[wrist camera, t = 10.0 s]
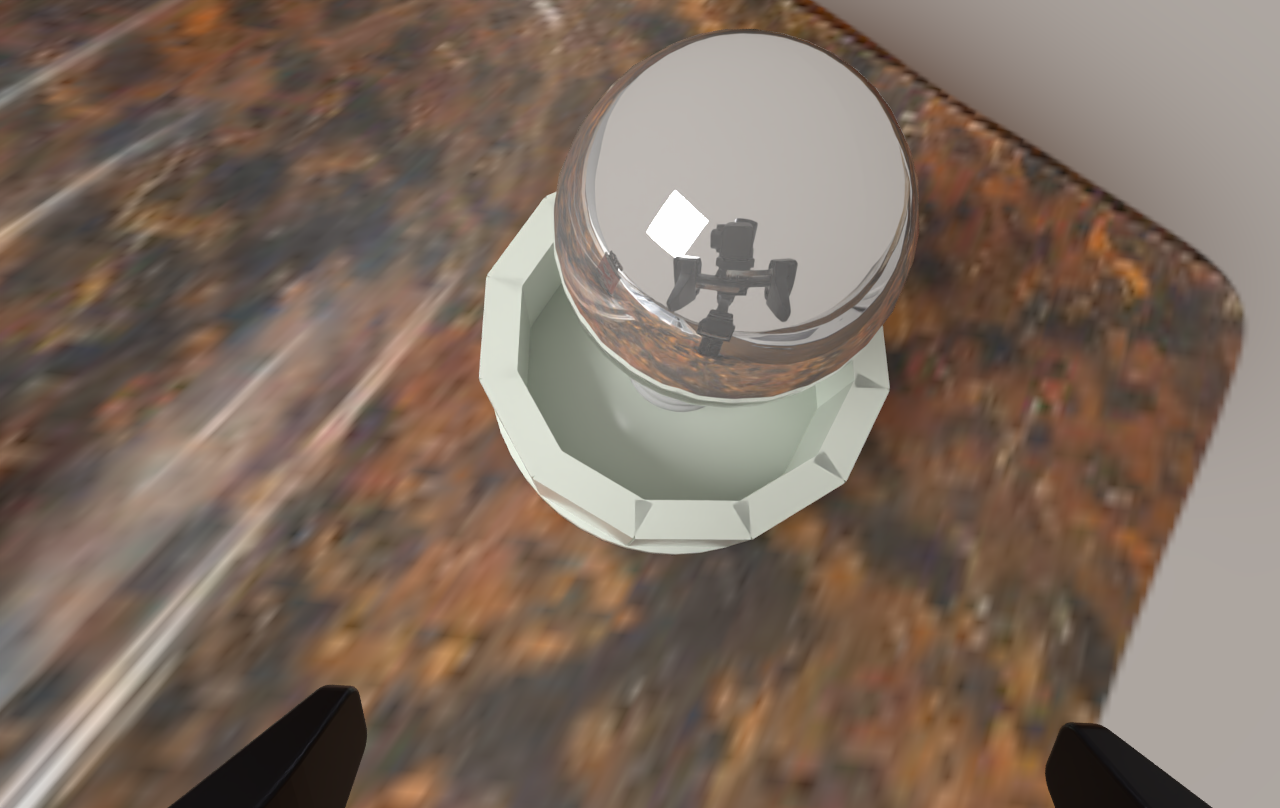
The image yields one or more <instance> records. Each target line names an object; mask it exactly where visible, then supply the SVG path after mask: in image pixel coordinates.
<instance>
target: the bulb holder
mask: <svg viewBox="0 0 1280 808" xmlns="http://www.w3.org/2000/svg"><path fill="white" fill-rule="evenodd" d="M555 197H556V192H555V193H552V194H550V195H548V196H546V198H544V199H543V200H542V202H541V203H540V204H539V206H538V207H537V208H536V210H535V211H534V212H533V214H532V215H531V216H530V218H529V219H528V221H527V222H526V223H525V225H524V226H523V227H522V229H521V230H520V231H519V233H518V234H517V235H516V237H515V238H514V239H513V241H512V242H511V243H510V245H509V246H508V248H507V249H506V250H505V252H504V253H503V254H502V256H501V257H500V258H499V260H498V261H497V262H496V264H495V265H494V266H493V268H492V269H491V271H490V272H489V273H488V275H487V277H486V289H485V303H484V317H483V330H482V344H481V357H480V371H479V379H480V382H481V384H482V386H483V388H484V390H485V392H486V394H487V396H488V398H489V400H490V402H491V404H492V406H493V408H494V410H495V414H496V417H497V421H498V424H499V428H500V431H501V434H502V436H503V438H504V440H505V443H506V445H507V447H508V449H509V452H510V454H511V456H512V457H513V459H514V461H515V463H516V464H517V466H518V467H519V469H520V471H521V472H522V474H523V475H524V477H525V479H526V480H527V481H528V483H529V484H530V485H531V486H532V487H533V489H534V490H535V491H536V492H537V494H538V495H539V496H540V497H541V498H542V499H543V500H544V501H545V502H546V503H547V504H548V505H549V506H550V507H551V508H552V509H554V510H555V511H556V512H557V513H558V514H559V515H560V516H562V517H563V518H565V519H566V520H567V521H569V522H570V523H572V524H573V525H575V526H576V527H578V528H579V529H581V530H583V531H585V532H587V533H588V534H590V535H592V536H594V537H596V538H598V539H600V540H602V541H605V542H608V543H611V544H614V545H617V546H619V547H622V548H625V549H630V550H635V551H640V552H645V553H651V554H665V555H682V554H697V553H702V552H707V551H712V550H717V549H721V548H725V547H728V546H731V545H734V544H738V543H741V542H745V541H748V540H752V539H754V538H756V537H757V536H759V535H760V534H762V533H764V532H765V531H767V530H769V529H770V528H772V527H774V526H775V525H777V524H778V523H780V522H782V521H783V520H785V519H787V518H788V517H790V516H792V515H793V514H795V513H796V512H798V511H800V510H801V509H803V508H805V507H806V506H808V505H810V504H811V503H813V502H814V501H816V500H818V499H819V498H821V497H823V496H824V495H826V494H828V493H829V492H831V491H832V490H834V489H836V488H837V487H839V486H841V485H842V484H844V483H845V482H846V481H847V479H848V477H849V475H850V473H851V471H852V468H853V466H854V464H855V462H856V460H857V458H858V456H859V454H860V452H861V450H862V447H863V445H864V443H865V441H866V439H867V437H868V435H869V433H870V431H871V428H872V426H873V424H874V422H875V420H876V418H877V416H878V414H879V412H880V410H881V407H882V405H883V403H884V401H885V399H886V397H887V395H888V393H889V391H890V390H889V389H890V385H889V377H888V368H887V359H886V351H885V342H884V333H883V325H882V326H881V327H880V329H879V330H878V331H877V333H876V334H875V335H874V337H873V338H872V339H871V340H870V342H869V343H868V344H867V345H866V347H865V348H864V349H863V351H862V352H861V353H860V354H859V355H858V356H857V357H855V358H854V359H853V360H852V361H850V362H849V363H848V364H847V365H846V366H844V367H843V368H842V369H841V370H839V371H838V372H837V373H836V374H834V375H833V376H831V377H829V378H828V379H826V380H824V381H823V382H821V383H819V384H817V385H815V386H813V387H811V388H809V389H807V390H805V391H803V392H801V393H799V394H797V395H796V396H794V397H791V398H788V399H784V400H780V401H777V402H773V403H769V404H766V405H762V406H751V407H737V408H716V407H707V406H706V407H703V408H701V409H698V410H694V411H688V412H675V411H669V410H665V409H662V408H660V407H657V406H655V405H654V404H652V403H650V402H649V401H647V400H646V399H645V398H644V397H643V396H642V395H641V394H640V393H639V392H638V391H637V390H636V388H635V387H634V385H633V384H632V382H631V380H630V378H629V376H627V375H626V374H625V373H624V372H622V371H621V370H620V369H619V368H618V367H616V366H615V365H614V364H613V363H611V362H610V361H609V360H608V359H607V358H606V357H604V356H603V354H602V353H601V352H600V351H599V350H598V348H597V347H596V346H595V345H594V344H593V342H592V341H591V340H590V339H589V337H588V336H587V335H586V334H585V333H584V331H583V330H582V328H581V326H580V324H579V322H578V321H577V319H576V317H575V315H574V313H573V311H572V309H571V308H570V306H569V304H568V301H567V298H566V294H565V291H564V288H563V284H562V281H561V277H560V274H559V270H558V267H557V264H556V260H555V256H554V239H553V215H554V203H555Z"/></svg>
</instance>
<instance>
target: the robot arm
mask: <svg viewBox="0 0 1280 808" xmlns="http://www.w3.org/2000/svg"><path fill="white" fill-rule="evenodd" d="M366 740H367V728H366V723H365V719H364V714H363V709H362V704H361V700H360V695H359V692H358V690H357V689H356V688H355V687H353V686H344V685H325V686H323V687H321V688H319V689H318V690H316V691H315V692H314V693H312V694H311V695H310V696H309V697H307V698H306V699H305V700H303V701H302V702H301V703H300V704H298V705H297V706H296V707H295V708H293V709H292V710H291V711H290V712H288V713H287V714H286V715H284V716H283V717H282V718H281V719H279V720H278V721H277V722H276V723H274V724H273V725H272V726H271V727H269V728H268V729H267V730H266V731H264V732H263V733H262V734H260V735H259V736H258V737H257V738H255V739H254V740H253V741H252V742H250V743H249V744H248V745H247V746H245V747H244V748H243V749H241V750H240V751H239V752H238V753H236V754H235V755H234V756H233V757H231V758H230V759H229V760H228V761H226V762H225V763H224V764H223V765H221V766H220V767H219V768H217V769H216V770H215V771H214V772H212V773H211V774H210V775H209V776H207V777H206V778H205V779H204V780H202V781H201V782H200V783H198V784H197V785H196V786H195V787H193V788H192V789H191V790H190V791H188V792H187V793H186V794H185V795H183V796H182V797H181V798H180V799H178V800H177V801H176V802H174V803H173V804H172V805H171V806H169V807H168V808H345V807H346V804H347V801H348V798H349V795H350V792H351V789H352V786H353V783H354V780H355V777H356V774H357V771H358V768H359V765H360V762H361V759H362V756H363V753H364V750H365V746H366ZM1045 776H1046V782H1047V786H1048V790H1049V792H1050V795H1051V798H1052V800H1053V803H1054V806H1055V808H1212V807H1211V806H1209V805H1208V804H1207V803H1205V802H1204V801H1203V800H1201V799H1200V798H1199V797H1197V796H1196V795H1195V794H1193V793H1192V792H1191V791H1190V790H1188V789H1187V788H1186V787H1184V786H1183V785H1182V784H1180V783H1179V782H1178V781H1176V780H1175V779H1174V778H1172V777H1171V776H1170V775H1168V774H1167V773H1166V772H1164V771H1163V770H1162V769H1160V768H1159V767H1158V766H1156V765H1155V764H1154V763H1152V762H1151V761H1150V760H1148V759H1147V758H1146V757H1144V756H1143V755H1142V754H1141V753H1139V752H1138V751H1137V750H1135V749H1134V748H1132V747H1131V746H1130V745H1129V744H1127V743H1126V742H1125V741H1123V740H1122V739H1121V738H1119V737H1118V736H1117V735H1115V734H1114V733H1112V732H1111V731H1110V730H1109V729H1107V728H1105V727H1103V726H1102V725H1098V724H1093V723H1074V722H1070V723H1066V724H1065V725H1063V726H1062V727H1061V729H1060V731H1059V733H1058V736H1057V738H1056V741H1055V743H1054V746H1053V748H1052V751H1051V753H1050V756H1049V758H1048V761H1047V764H1046V770H1045Z"/></svg>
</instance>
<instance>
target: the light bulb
mask: <svg viewBox="0 0 1280 808" xmlns="http://www.w3.org/2000/svg"><path fill="white" fill-rule="evenodd" d="M918 235H919V198H918V178H917V174H916V170H915V166H914V162H913V158H912V154H911V151H910V148H909V146H908V144H907V142H906V139H905V137H904V135H903V133H902V130H901V128H900V126H899V124H898V122H897V120H896V118H895V116H894V114H893V112H892V110H891V108H890V107H889V105H888V104H887V103H886V101H885V100H884V99H883V97H882V96H881V94H880V93H879V92H878V90H877V89H876V88H875V87H874V86H873V85H872V84H871V83H870V82H869V81H868V80H867V79H866V78H865V77H864V76H863V75H862V74H861V73H860V72H859V71H858V70H857V69H855V68H854V67H852V66H851V65H850V64H848V63H847V62H845V61H844V60H842V59H841V58H839V57H838V56H837V55H835V54H834V53H832V52H830V51H827V50H825V49H823V48H821V47H819V46H817V45H815V44H813V43H811V42H809V41H806V40H803V39H799V38H796V37H793V36H790V35H787V34H783V33H778V32H772V31H765V30H758V29H725V30H719V31H713V32H708V33H702V34H698V35H696V36H693V37H690V38H687V39H685V40H682V41H679V42H676V43H674V44H672V45H670V46H668V47H665V48H663V49H661V50H659V51H657V52H656V53H654V54H652V55H650V56H649V57H647V58H645V59H644V60H642V61H640V62H639V63H637V64H635V65H634V66H632V67H631V68H630V69H629V70H628V71H627V72H626V73H625V74H624V75H623V76H621V77H620V78H619V79H618V80H617V81H616V82H615V83H614V84H613V85H612V86H611V87H610V88H609V89H608V90H607V91H606V92H605V93H604V94H603V96H602V97H601V98H600V99H599V100H598V101H597V102H596V104H595V105H594V106H593V108H592V109H591V111H590V112H589V114H588V115H587V116H586V118H585V119H584V121H583V122H582V123H581V125H580V127H579V129H578V131H577V134H576V136H575V138H574V140H573V143H572V145H571V147H570V150H569V152H568V155H567V157H566V160H565V162H564V164H563V167H562V169H561V172H560V174H559V179H558V185H557V191H556V197H555V203H554V215H553V239H554V256H555V260H556V264H557V267H558V270H559V274H560V277H561V281H562V284H563V288H564V291H565V294H566V298H567V301H568V304H569V306H570V308H571V309H572V311H573V313H574V315H575V317H576V319H577V321H578V322H579V324H580V326H581V328H582V330H583V331H584V333H585V334H586V335H587V336H588V337H589V339H590V340H591V341H592V342H593V344H594V345H595V346H596V347H597V348H598V350H599V351H600V352H601V353H602V354H603V356H604V357H606V358H607V359H608V360H609V361H610V362H611V363H613V364H614V365H615V366H616V367H618V368H619V369H620V370H621V371H622V372H624V373H625V374H626V375H627V376H629V378H630V380H631V382H632V384H633V385H634V387H635V388H636V390H637V391H638V392H639V393H640V394H641V395H642V396H643V397H644V398H645V399H646V400H647V401H649V402H650V403H652V404H654V405H655V406H657V407H660V408H662V409H665V410H669V411H675V412H688V411H694V410H698V409H701V408H703V407H706V406H707V407H716V408H737V407H751V406H762V405H766V404H769V403H773V402H777V401H780V400H784V399H788V398H791V397H794V396H796V395H797V394H799V393H801V392H803V391H805V390H807V389H809V388H811V387H813V386H815V385H817V384H819V383H821V382H823V381H824V380H826V379H828V378H829V377H831V376H833V375H834V374H836V373H837V372H838V371H839V370H841V369H842V368H843V367H844V366H846V365H847V364H848V363H849V362H850V361H852V360H853V359H854V358H855V357H857V356H858V355H859V354H860V353H861V352H862V351H863V349H864V348H865V347H866V345H867V344H868V343H869V342H870V340H871V339H872V338H873V337H874V335H875V334H876V333H877V331H878V330H879V329H880V327H881V326H882V325H883V324H884V322H885V321H886V320H887V318H888V317H889V316H890V315H891V313H892V312H893V310H894V308H895V306H896V303H897V301H898V299H899V297H900V295H901V293H902V290H903V288H904V286H905V284H906V281H907V278H908V275H909V272H910V269H911V266H912V264H913V260H914V255H915V250H916V245H917V240H918Z"/></svg>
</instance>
